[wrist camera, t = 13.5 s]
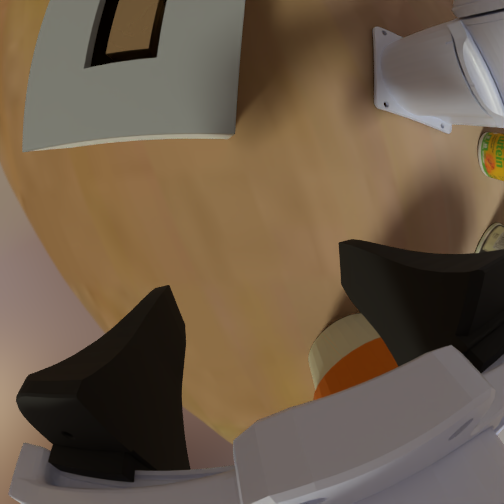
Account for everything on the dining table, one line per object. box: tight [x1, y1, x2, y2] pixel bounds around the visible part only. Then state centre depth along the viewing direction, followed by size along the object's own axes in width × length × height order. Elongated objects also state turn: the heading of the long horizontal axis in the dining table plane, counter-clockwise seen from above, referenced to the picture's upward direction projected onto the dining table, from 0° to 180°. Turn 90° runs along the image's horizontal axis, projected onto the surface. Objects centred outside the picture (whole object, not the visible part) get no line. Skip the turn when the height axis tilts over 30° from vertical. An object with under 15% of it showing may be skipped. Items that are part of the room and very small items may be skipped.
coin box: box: [23, 0, 245, 152], centre depth 11 cm, size 12×14×6 cm
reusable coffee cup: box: [308, 313, 398, 400], centre depth 19 cm, size 13×13×15 cm
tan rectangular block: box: [106, 0, 165, 62], centre depth 12 cm, size 2×4×5 cm, turn 176°
